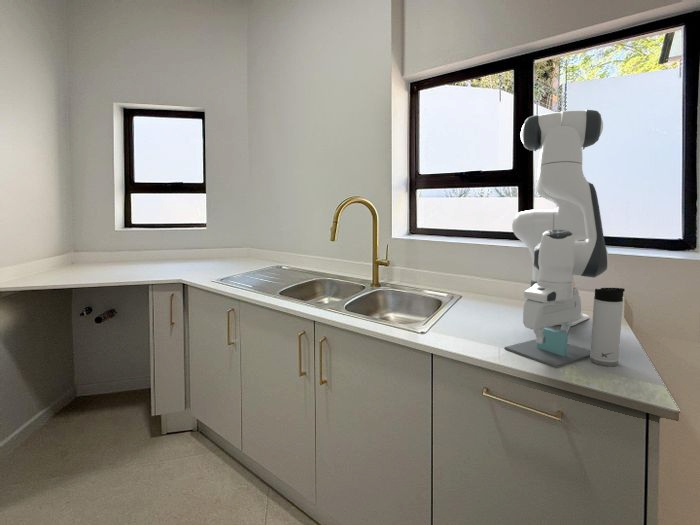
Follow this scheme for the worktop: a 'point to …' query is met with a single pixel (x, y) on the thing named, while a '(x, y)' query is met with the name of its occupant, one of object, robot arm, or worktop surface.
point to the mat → (549, 353)
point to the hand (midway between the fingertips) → (551, 339)
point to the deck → (554, 342)
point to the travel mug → (606, 326)
